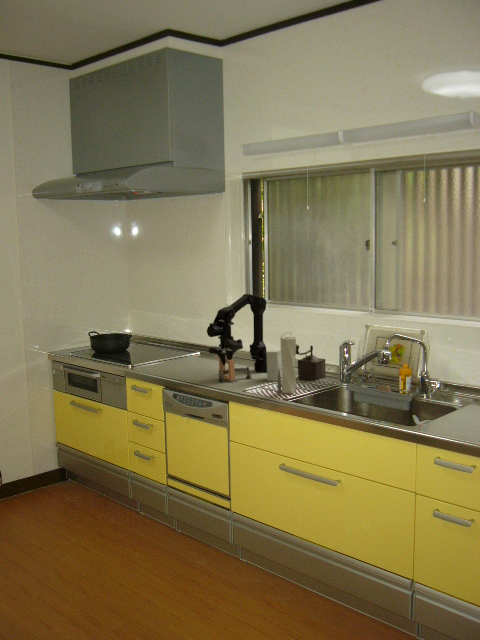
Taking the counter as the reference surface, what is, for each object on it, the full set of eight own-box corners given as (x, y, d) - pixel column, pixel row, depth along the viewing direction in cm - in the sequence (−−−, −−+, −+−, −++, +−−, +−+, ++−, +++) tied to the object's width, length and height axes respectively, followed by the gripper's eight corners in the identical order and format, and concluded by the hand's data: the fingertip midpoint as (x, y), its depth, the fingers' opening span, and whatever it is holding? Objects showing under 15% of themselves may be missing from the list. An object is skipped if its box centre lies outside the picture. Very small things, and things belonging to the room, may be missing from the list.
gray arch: (251, 377, 341) (251, 366, 340) (251, 381, 332) (251, 370, 331) (218, 378, 341) (218, 367, 340) (217, 382, 332) (217, 371, 331)
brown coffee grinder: (308, 374, 345) (307, 340, 342) (326, 376, 338) (325, 341, 335) (290, 380, 333) (289, 344, 331) (308, 382, 326) (307, 346, 323)
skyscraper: (283, 389, 315) (281, 331, 311) (299, 390, 312) (298, 331, 308) (277, 394, 307) (275, 334, 304) (293, 395, 304) (292, 334, 300)
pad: (223, 377, 342) (223, 377, 342) (238, 381, 334) (238, 380, 334) (216, 379, 339) (216, 379, 339) (231, 382, 331) (231, 382, 331)
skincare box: (278, 381, 331) (277, 352, 328) (266, 381, 332) (265, 351, 330) (282, 377, 338) (281, 349, 336) (271, 377, 340) (270, 348, 338)
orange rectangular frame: (223, 377, 340) (223, 358, 339) (234, 379, 335) (234, 360, 333) (219, 378, 338) (218, 359, 337) (230, 381, 333) (229, 361, 331)
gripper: (223, 338, 321) (224, 370, 323) (250, 333, 334) (251, 363, 336) (207, 336, 329) (208, 367, 331) (234, 331, 342) (235, 361, 344)
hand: (226, 364), depth 335 cm, fingers closed on orange rectangular frame, 3 cm apart
